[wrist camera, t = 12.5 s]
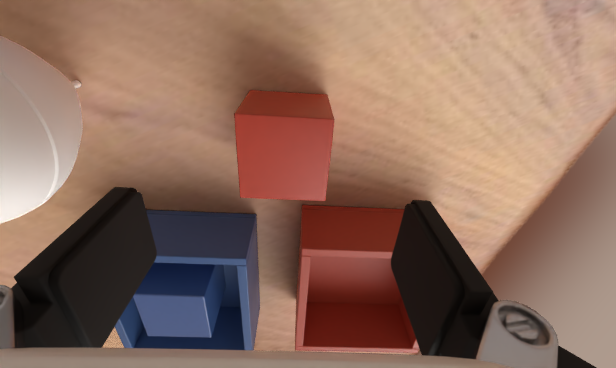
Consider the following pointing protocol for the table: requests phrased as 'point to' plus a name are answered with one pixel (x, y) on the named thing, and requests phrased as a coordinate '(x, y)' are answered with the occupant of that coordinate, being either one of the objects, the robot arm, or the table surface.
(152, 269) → the blue block
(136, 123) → the table surface
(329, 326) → the red bin
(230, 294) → the blue bin
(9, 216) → the spinning top
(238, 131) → the red block
